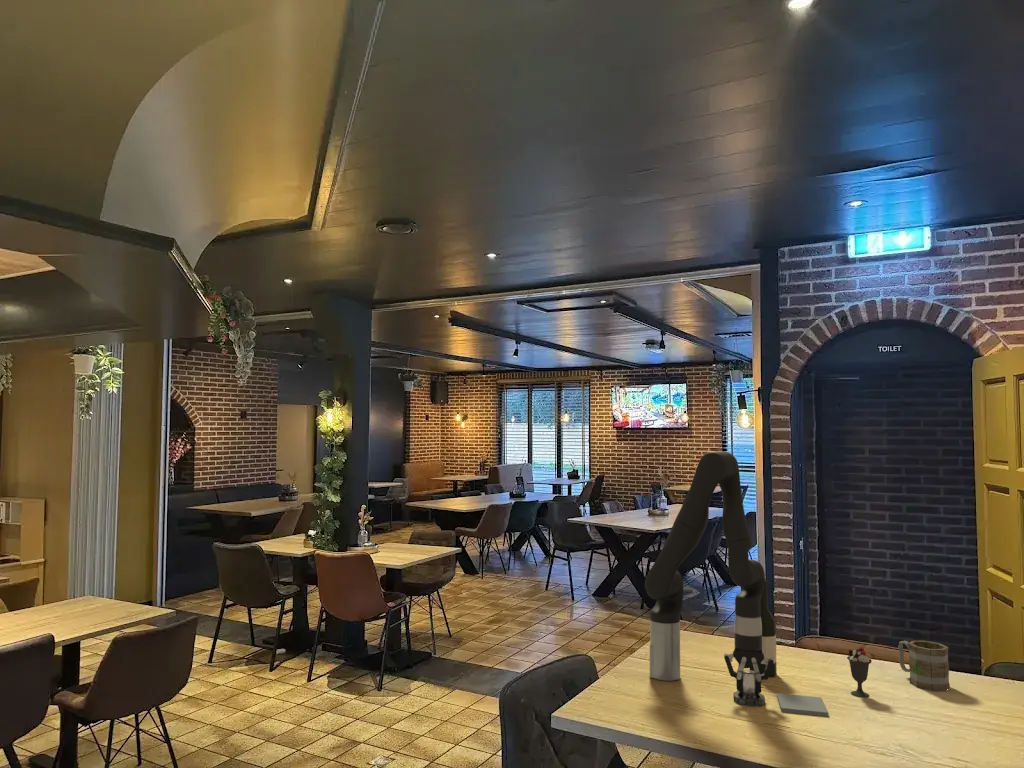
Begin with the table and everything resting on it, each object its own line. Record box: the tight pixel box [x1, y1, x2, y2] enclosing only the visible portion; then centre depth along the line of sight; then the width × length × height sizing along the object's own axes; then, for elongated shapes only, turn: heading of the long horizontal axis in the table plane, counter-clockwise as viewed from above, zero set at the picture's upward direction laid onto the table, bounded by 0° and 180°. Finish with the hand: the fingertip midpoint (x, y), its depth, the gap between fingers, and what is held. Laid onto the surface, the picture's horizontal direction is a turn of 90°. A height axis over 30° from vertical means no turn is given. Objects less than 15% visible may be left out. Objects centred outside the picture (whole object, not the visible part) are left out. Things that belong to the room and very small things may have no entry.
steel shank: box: [741, 669, 756, 700], centre depth 204 cm, size 4×4×8 cm
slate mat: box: [776, 692, 829, 717], centre depth 200 cm, size 12×12×1 cm
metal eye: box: [732, 690, 766, 708], centre depth 204 cm, size 8×8×2 cm
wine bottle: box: [749, 577, 778, 679], centre depth 230 cm, size 8×8×30 cm
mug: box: [897, 640, 951, 692], centre depth 222 cm, size 16×11×12 cm
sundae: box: [846, 643, 872, 698], centre depth 211 cm, size 7×7×15 cm
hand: (749, 692), depth 204 cm, fingers closed on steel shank, 4 cm apart
